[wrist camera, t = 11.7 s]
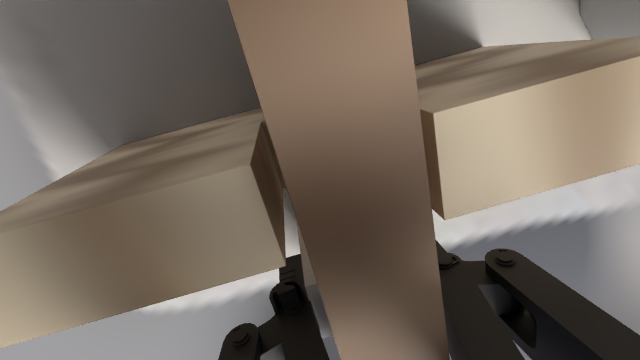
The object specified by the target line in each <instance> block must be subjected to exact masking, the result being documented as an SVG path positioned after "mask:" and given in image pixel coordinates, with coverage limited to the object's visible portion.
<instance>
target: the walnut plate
mask: <svg viewBox="0 0 640 360" xmlns="http://www.w3.org/2000/svg"><path fill="white" fill-rule="evenodd" d="M227 1H228V4H229V7H230V10H231V13H232V16H233V20H234V23H235V26H236V29H237V32H238V35H239V39H240V42H241V45H242V48H243V51H244V54H245V58H246V61H247V64H248V67H249V70H250V73H251V77H252V80H253V83H254V86H255V89H256V92H257V95H258V99H259V102H260V105H261V108H262V111H263V114H264V118H265V121H266V124H267V127H268V130H269V133H270V137H271V140H272V143H273V146H274V149H275V152H276V156H277V159H278V162H279V165H280V168H281V171H282V174H283V178H284V181H285V184H286V187H287V190H288V193H289V197H290V200H291V203H292V206H293V209H294V212H295V216H296V219H297V222H298V225H299V228H300V231H301V235H302V238H303V241H304V244H305V247H306V250H307V253H308V257H309V260H310V263H311V266H312V269H313V272H314V276H315V279H316V282H317V285H318V288H319V291H320V295H321V298H322V301H323V304H324V307H325V310H326V314H327V317H328V320H329V323H330V326H331V329H332V332H333V336H334V339H335V342H336V345H337V348H338V351H339V354H340V358H341V360H450V358H449V349H448V341H447V333H446V324H445V316H444V307H443V299H442V291H441V282H440V274H439V266H438V257H437V249H436V241H435V232H434V224H433V215H432V207H431V199H430V190H429V182H428V174H427V165H426V157H425V149H424V140H423V132H422V123H421V115H420V107H419V98H418V90H417V82H416V73H415V65H414V57H413V48H412V40H411V32H410V23H409V15H408V6H407V0H227Z"/></svg>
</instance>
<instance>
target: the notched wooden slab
mask: <svg viewBox="0 0 640 360" xmlns="http://www.w3.org/2000/svg"><path fill="white" fill-rule="evenodd" d="M415 73H416V82H417V90H418V98H419V107H420V115H421V123H422V132H423V140H424V149H425V157H426V165H427V174H428V182H429V190H430V199H431V207H432V209H433V210H434V211H435V212H436V213H437V214H439V215H440V216H441V217H442V218H443V219H444V220H447V219H451V218H454V217H458V216H461V215H465V214H468V213H471V212H475V211H478V210H482V209H485V208H489V207H492V206H496V205H499V204H503V203H506V202H510V201H513V200H517V199H520V198H523V197H527V196H530V195H534V194H537V193H541V192H544V191H548V190H551V189H555V188H558V187H562V186H565V185H569V184H572V183H575V182H579V181H582V180H586V179H589V178H593V177H596V176H600V175H603V174H607V173H610V172H614V171H617V170H621V169H624V168H627V167H631V166H634V165H638V164H640V36H638V37H623V38H608V39H593V40H578V41H563V42H548V43H533V44H518V45H503V46H488V47H481V48H477V49H474V50H470V51H466V52H463V53H459V54H455V55H452V56H448V57H444V58H441V59H437V60H433V61H430V62H426V63H422V64H419V65H415ZM283 188H286V184H285V181H284V178H283V174H282V171H281V168H280V165H279V162H278V159H277V156H276V152H275V149H274V146H273V143H272V140H271V137H270V133H269V130H268V127H267V124H266V121H265V118H264V114H263V111H262V108H261V107H260V108H257V109H253V110H249V111H246V112H242V113H238V114H235V115H231V116H227V117H224V118H220V119H216V120H213V121H209V122H205V123H202V124H198V125H194V126H191V127H187V128H183V129H180V130H176V131H172V132H169V133H165V134H161V135H158V136H154V137H150V138H147V139H143V140H139V141H135V142H132V143H128V144H124V145H121V146H119V147H117V148H116V149H114V150H112V151H110V152H108V153H106V154H105V155H103V156H101V157H99V158H97V159H95V160H94V161H92V162H90V163H88V164H86V165H84V166H83V167H81V168H79V169H77V170H75V171H73V172H72V173H70V174H68V175H66V176H64V177H62V178H61V179H59V180H57V181H55V182H53V183H51V184H50V185H48V186H46V187H44V188H42V189H40V190H39V191H37V192H35V193H33V194H31V195H29V196H28V197H26V198H24V199H22V200H21V201H18V202H17V203H15V204H13V205H11V206H9V207H8V208H6V209H4V210H2V211H0V348H3V347H7V346H10V345H14V344H17V343H21V342H24V341H28V340H31V339H35V338H38V337H41V336H45V335H48V334H52V333H55V332H59V331H62V330H66V329H69V328H73V327H76V326H80V325H83V324H86V323H90V322H93V321H97V320H100V319H104V318H107V317H111V316H114V315H118V314H121V313H124V312H128V311H132V310H135V309H139V308H142V307H146V306H149V305H153V304H156V303H159V302H163V301H166V300H170V299H173V298H177V297H180V296H184V295H187V294H191V293H194V292H198V291H201V290H205V289H208V288H211V287H215V286H218V285H222V284H225V283H229V282H232V281H236V280H239V279H243V278H246V277H250V276H253V275H257V274H260V273H263V272H267V271H270V270H274V269H277V268H281V267H284V266H286V256H285V233H284V211H283Z"/></svg>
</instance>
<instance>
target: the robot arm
mask: <svg viewBox="0 0 640 360" xmlns="http://www.w3.org/2000/svg"><path fill="white" fill-rule="evenodd" d="M297 227H298V235H299V243H300V251H301V254H298V255H295V256H291V257H288V258H286V266H284V267H281V268H279V274H280V275H279V280H280V282H279V283H278V284H277V285H276V286H275V287H274V288H273V289H272V290H271V292H270V297H269V298H270V301H271V304H272V306H273V309H274V311H275V315H274V316H273V317H272V318H271V319H270V320H269V321H267V322H266V323H264V324H262V325H261V326H259V327H256V326H255V325H254V324H251V323H244V324H241V325H239V326H237V327H235V328H234V329H232V330H231V331H230V332H229V333H228V335H227V336H226V338H225V340H224V342H223V345H222V349H221V352H220V355H219V359H218V360H329V357H328V354H327V352H326V349H325V346H324V343H323V340H322V339H323V338H326V337H329V336H333V332H332V329H331V326H330V323H329V320H328V317H327V314H326V310H325V307H324V304H323V301H322V298H321V295H320V291H319V288H318V285H317V282H316V279H315V276H314V272H313V269H312V266H311V263H310V260H309V257H308V253H307V250H306V247H305V244H304V241H303V238H302V235H301V231H300V228H299V225H298V222H297ZM435 241H436V240H435ZM436 249H437V257H438V266H439V274H440V282H441V291H442V299H443V307H444V316H445V324H446V333H447V341H448V349H449V354H450V356H451V359H452V360H525V359H524V358H523V356H522V355H521V353H520V351H519V350H518V348H517V347H516V345H515V343H516V344H517V345H518V346H519V347H520V348H521V349H522V350H523V351H524V352H525V353H526V354H527V355H528V356H529V357H530V358H531V359H532V360H640V335H638V334H637V333H635V332H634V331H632V330H631V329H630V328H628V327H627V326H625V325H623V324H622V323H621V322H619V321H618V320H616V319H615V318H613V317H612V316H611V315H609V314H608V313H606V312H605V311H603V310H602V309H600V308H599V307H597V306H596V305H594V304H593V303H592V302H590V301H588V300H587V299H586V298H584V297H583V296H581V295H580V294H578V293H577V292H576V291H574V290H573V289H571V288H570V287H568V286H567V285H565V284H564V283H562V282H561V281H559V280H558V279H557V278H555V277H553V276H552V275H551V274H549V273H548V272H546V271H545V270H543V269H542V268H540V267H539V266H537V265H536V264H534V263H533V262H531V261H530V260H529V259H527V258H526V257H524V256H523V255H521V254H520V253H518V252H516V251H513V250H509V249H495V250H491V251H490V252H488V253H487V254H486V256H485V261H462V260H461V259H460V258H459V257H458V256H456V255H454V254H451V253H447V252H446V251H445V250H444V249H443V248H442V246H441V245H440V244H439V243H438V242H437V241H436ZM321 336H322V337H321ZM513 341H514V342H515V343H514V342H513Z"/></svg>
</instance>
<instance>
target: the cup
mask: <svg viewBox="0 0 640 360" xmlns="http://www.w3.org/2000/svg"><path fill="white" fill-rule="evenodd" d="M580 16H581V18H582V20H583V22H584V24H585V26H586V28H587V30H588V32H589V34H590V36H591V38H592V40H593V39H608V38H623V37H638V36H640V0H580Z"/></svg>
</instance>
